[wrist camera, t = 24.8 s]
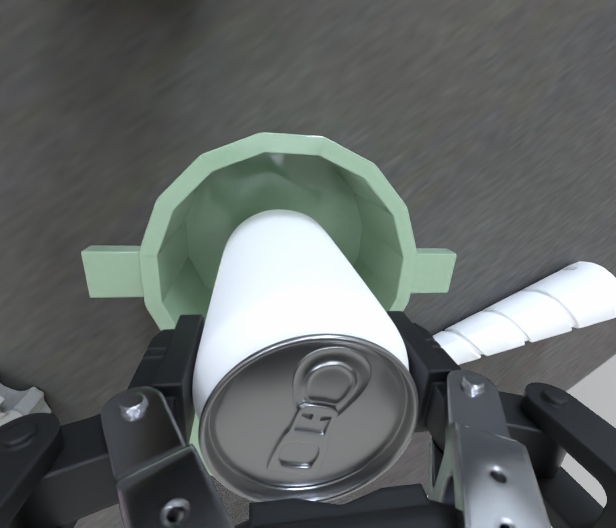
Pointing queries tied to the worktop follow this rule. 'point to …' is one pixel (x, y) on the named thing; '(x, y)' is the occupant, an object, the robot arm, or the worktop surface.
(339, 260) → the can
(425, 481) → the worktop surface
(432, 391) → the robot arm
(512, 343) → the unicorn horn
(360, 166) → the pan
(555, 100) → the worktop surface
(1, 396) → the egg carton
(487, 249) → the worktop surface
